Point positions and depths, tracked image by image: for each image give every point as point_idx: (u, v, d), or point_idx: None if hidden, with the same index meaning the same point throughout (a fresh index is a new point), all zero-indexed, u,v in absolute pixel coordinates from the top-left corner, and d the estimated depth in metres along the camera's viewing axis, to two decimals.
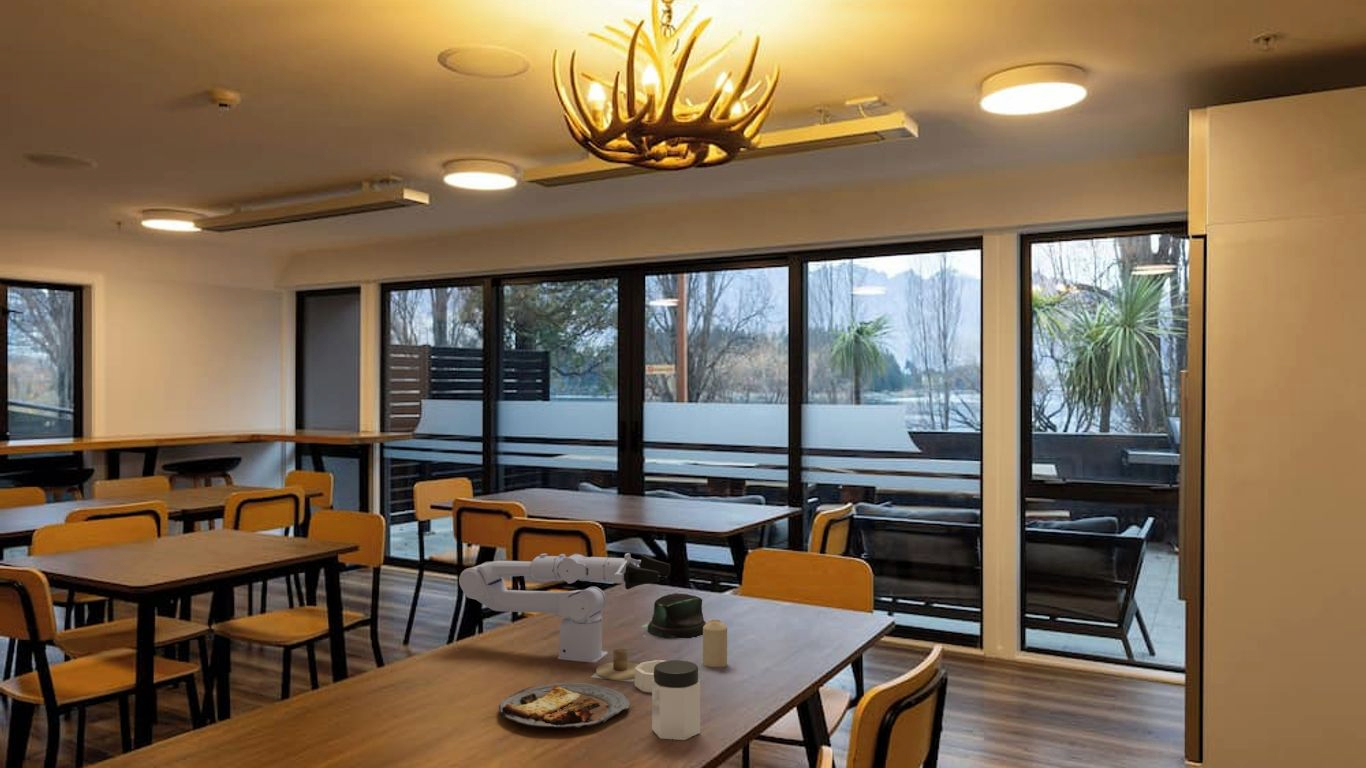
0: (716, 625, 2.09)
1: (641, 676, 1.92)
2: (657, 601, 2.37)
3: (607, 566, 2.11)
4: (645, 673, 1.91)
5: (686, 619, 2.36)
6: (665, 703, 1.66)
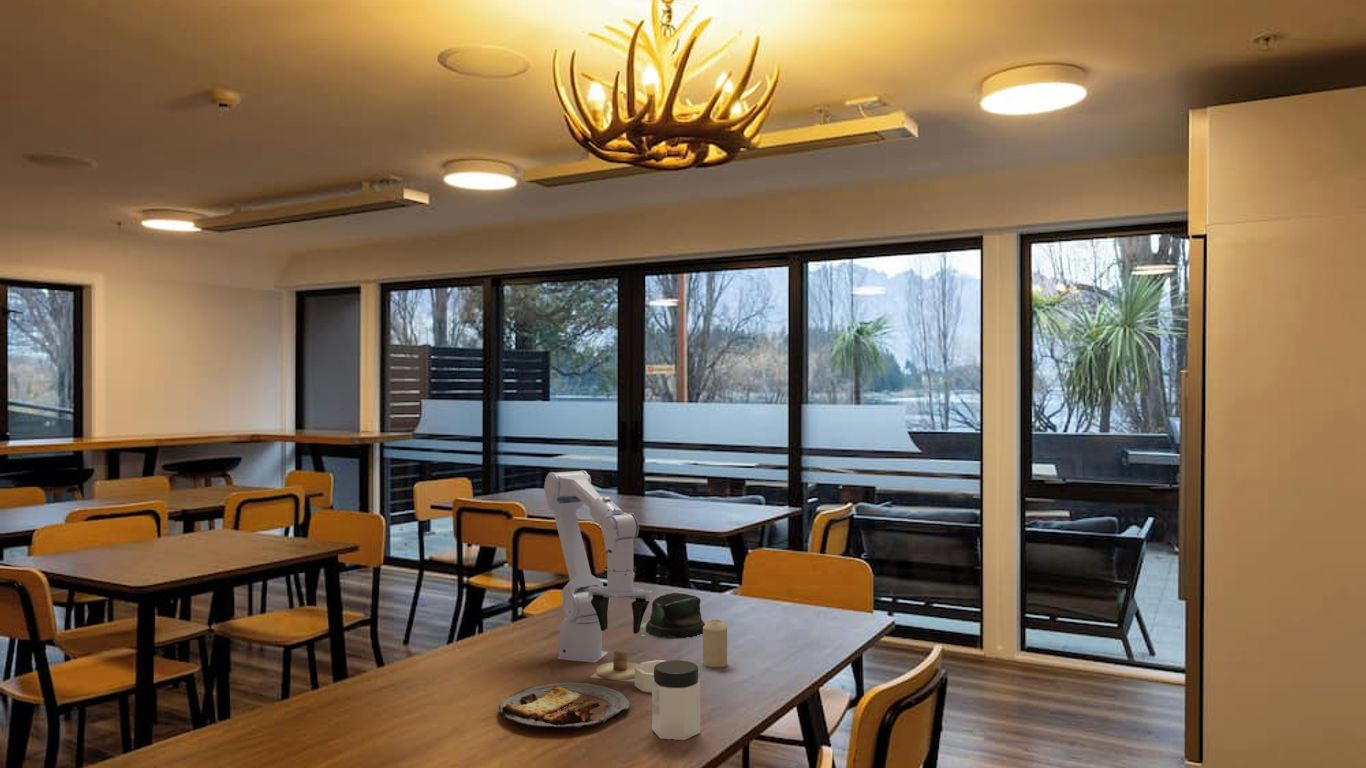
0: (716, 625, 2.09)
1: (641, 676, 1.92)
2: (655, 601, 2.37)
3: (607, 573, 2.03)
4: (645, 673, 1.91)
5: (683, 618, 2.36)
6: (665, 703, 1.66)
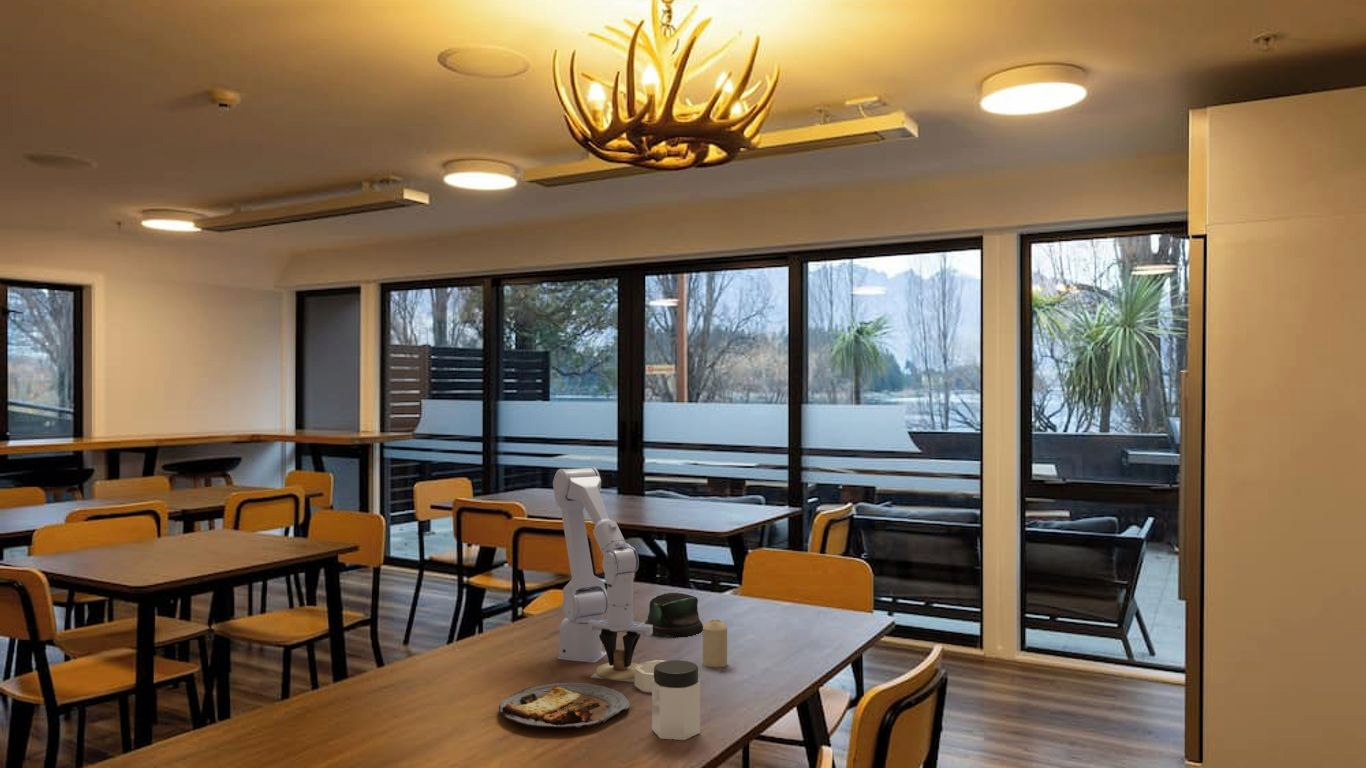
0: (716, 625, 2.09)
1: (641, 676, 1.92)
2: (652, 600, 2.38)
3: (607, 607, 2.03)
4: (645, 673, 1.91)
5: (681, 618, 2.36)
6: (665, 703, 1.66)
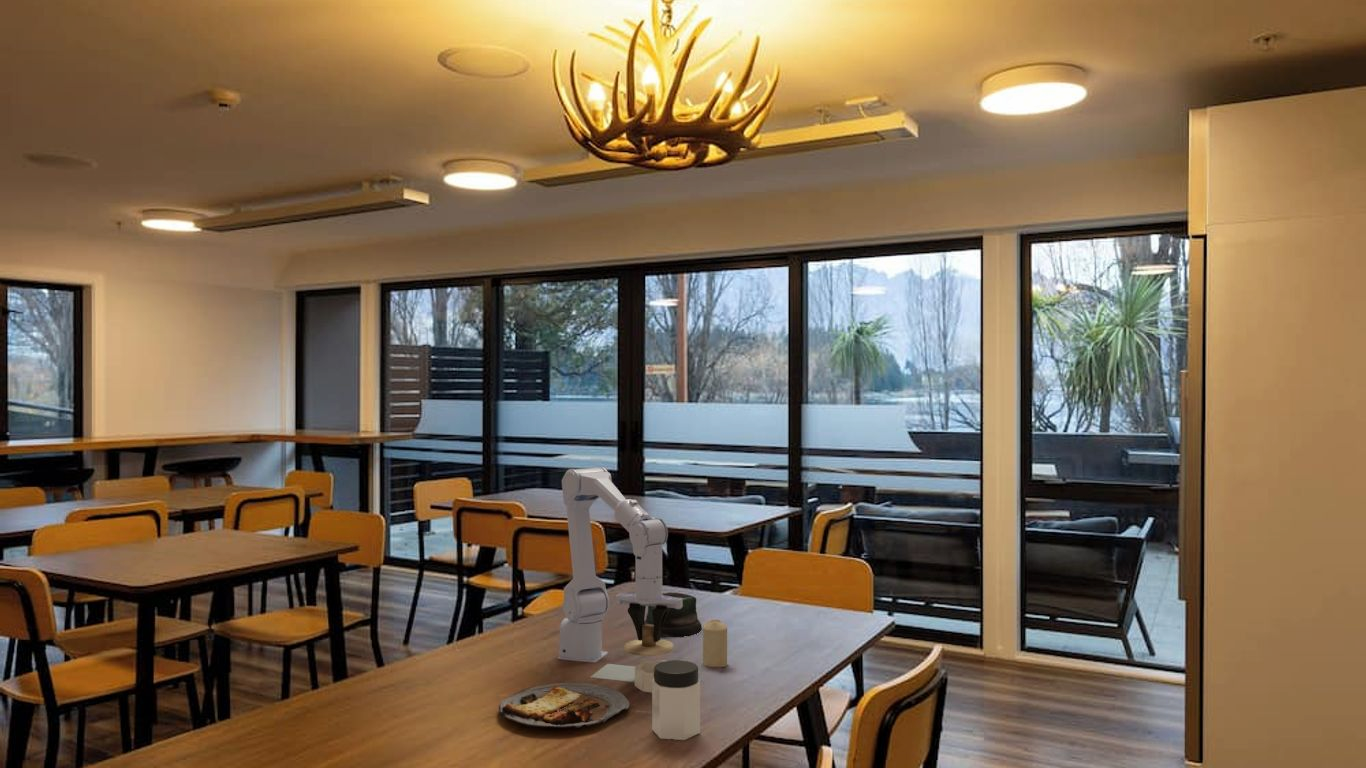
0: (716, 625, 2.09)
1: (641, 676, 1.92)
2: None
3: None
4: (645, 673, 1.91)
5: (679, 618, 2.37)
6: (665, 703, 1.66)
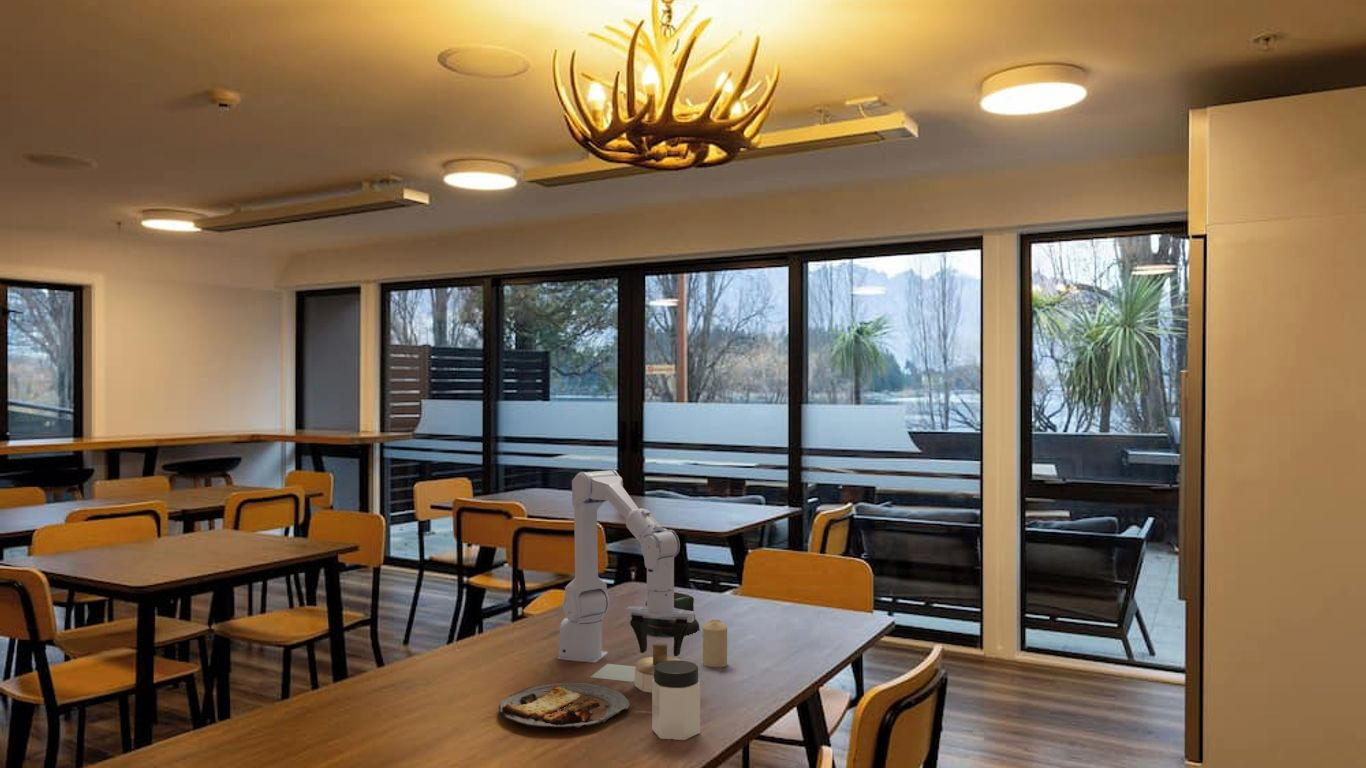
0: (716, 625, 2.09)
1: (641, 676, 1.92)
2: None
3: (647, 592, 1.95)
4: None
5: None
6: (665, 703, 1.66)
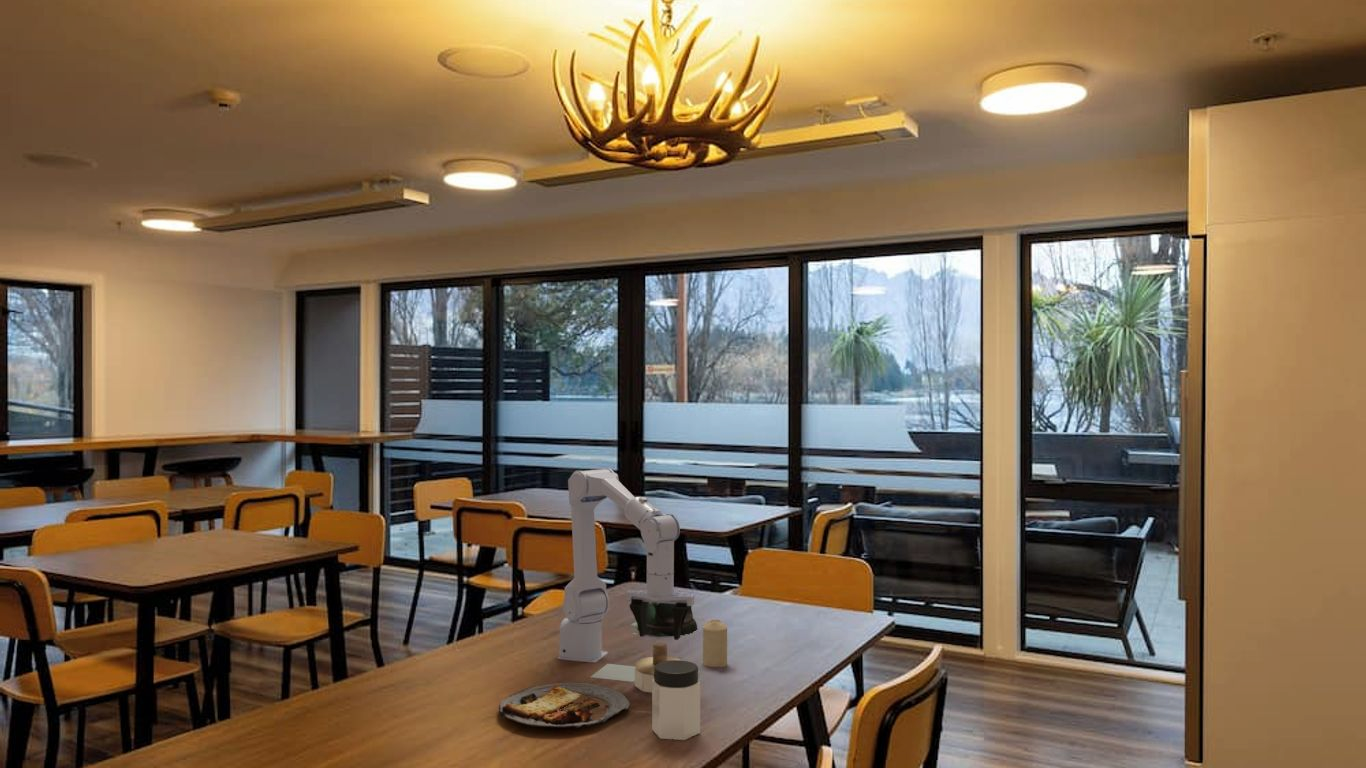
0: (716, 625, 2.09)
1: (641, 676, 1.92)
2: None
3: (647, 576, 1.95)
4: None
5: None
6: (665, 703, 1.66)
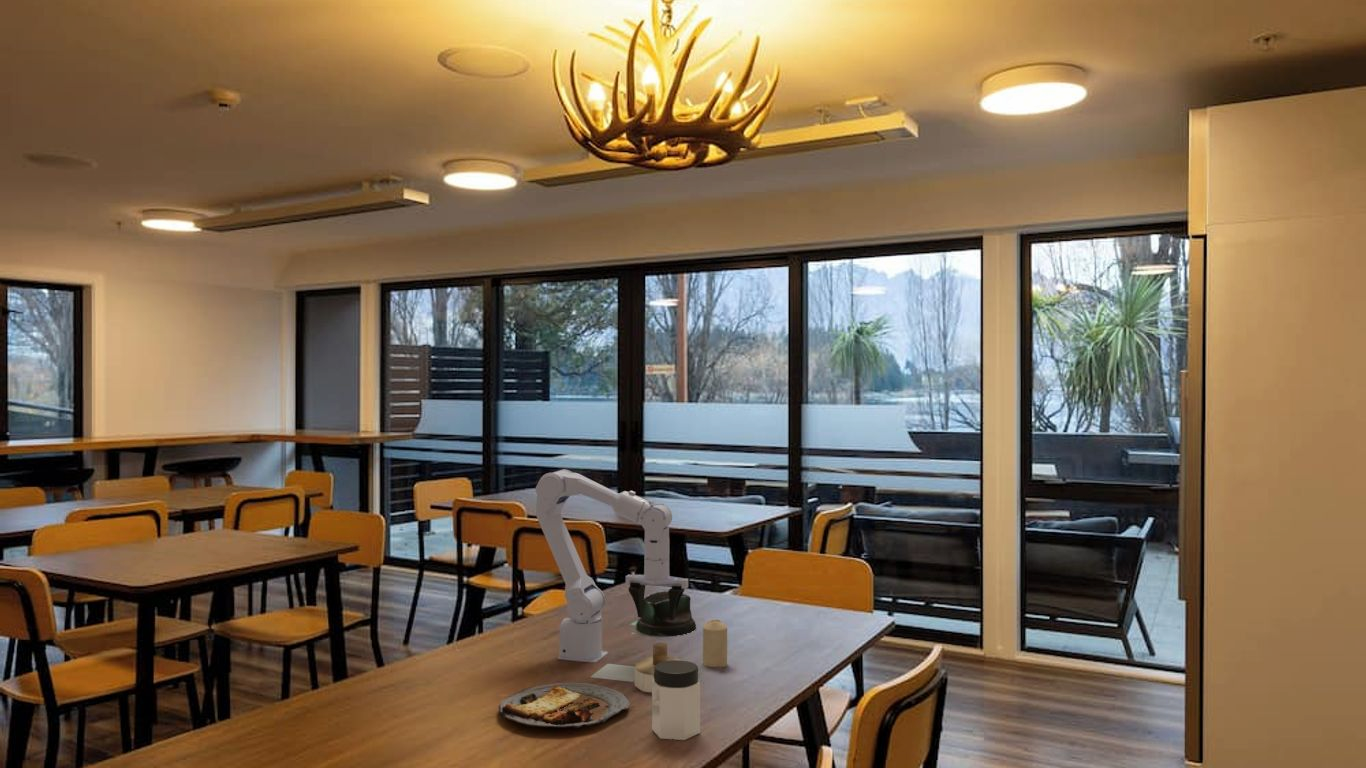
0: (716, 625, 2.09)
1: (641, 676, 1.92)
2: (645, 599, 2.39)
3: (644, 561, 2.11)
4: None
5: None
6: (665, 703, 1.66)
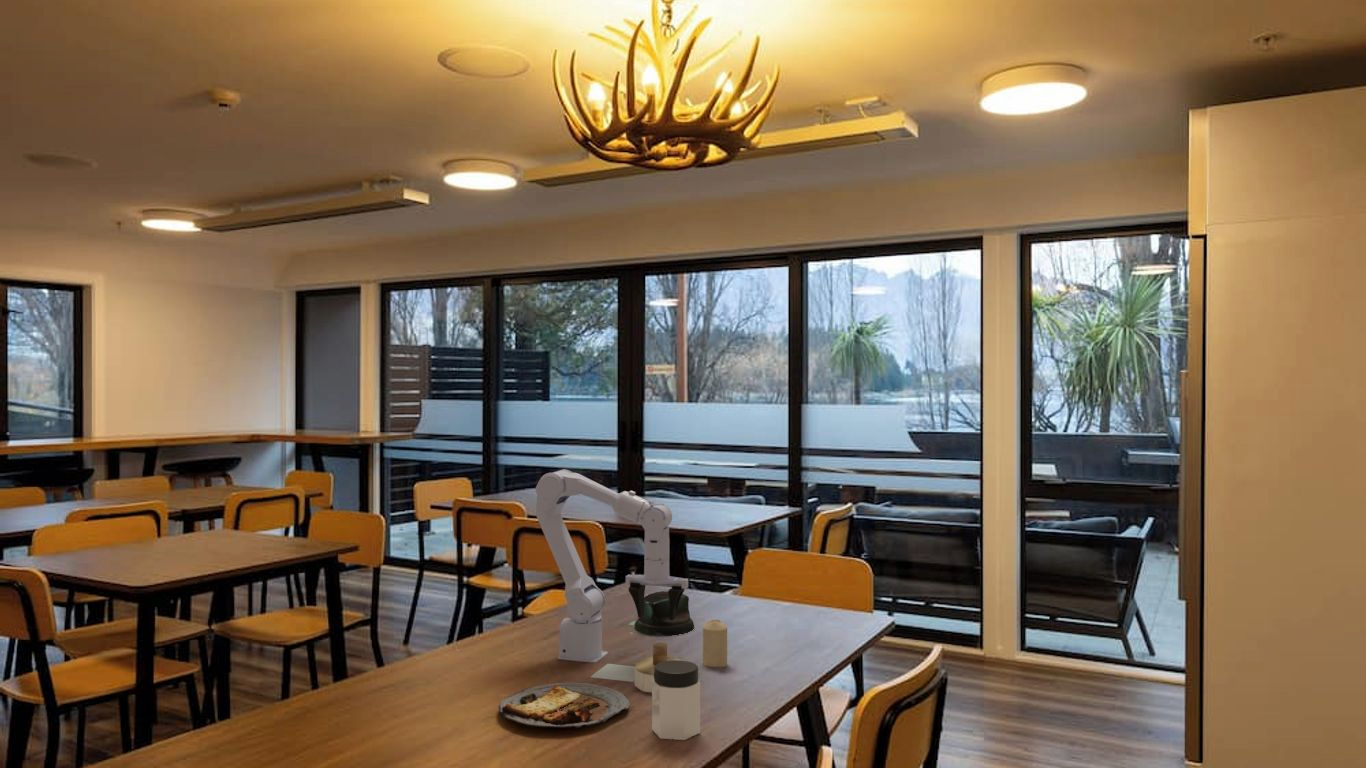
0: (716, 625, 2.09)
1: (641, 676, 1.92)
2: (644, 599, 2.39)
3: (644, 561, 2.11)
4: None
5: None
6: (665, 703, 1.66)
